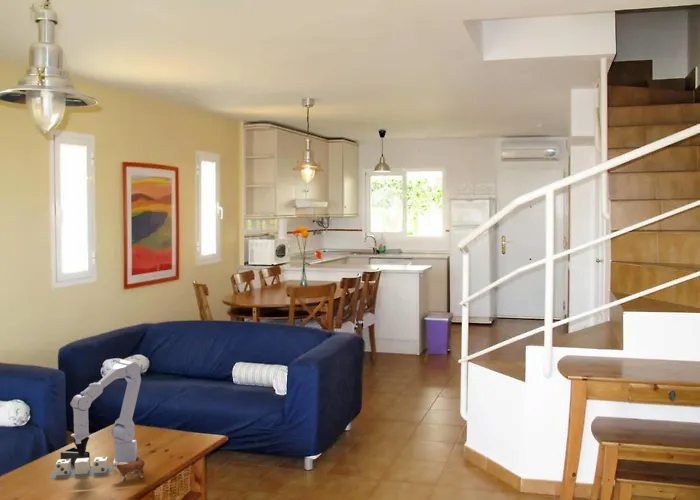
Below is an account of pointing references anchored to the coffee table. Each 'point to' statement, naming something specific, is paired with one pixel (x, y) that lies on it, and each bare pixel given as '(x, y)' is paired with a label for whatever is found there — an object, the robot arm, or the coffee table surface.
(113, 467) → the bull figurine
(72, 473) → the slate mat
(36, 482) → the coffee table surface
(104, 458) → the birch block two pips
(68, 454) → the door stopper
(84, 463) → the birch block plain
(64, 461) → the birch block three pips
